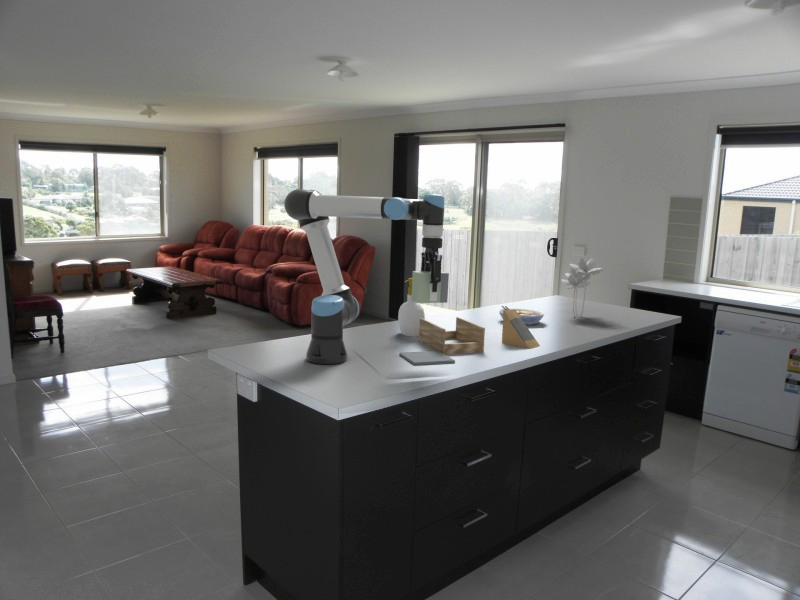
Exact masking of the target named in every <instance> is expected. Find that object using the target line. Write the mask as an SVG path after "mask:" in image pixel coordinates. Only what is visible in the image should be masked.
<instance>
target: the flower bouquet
mask: <svg viewBox="0 0 800 600" xmlns="http://www.w3.org/2000/svg"><path fill="white" fill-rule="evenodd" d="M595 262H596V260H595V258H594V257H591V258H590V259H589V260H588V261H587V262H586V260H585V258H584V257H583V256H582V257H581V258H580V259H579V261H578V262H577V263H578V265H577V264H575V263H574V264H573V263H569V266H570V267H571V268H570V272H566V273H565V274H564V275H565V276H566V277H567V279H563V278H562V279H560V280H561V282H562V283H563V284H564V285H566V286H567V287H566V289H568V290H569V289H573V298H572V299H573V301H572V314H573V318H576V316H577V315H578V311H577V295H578V289H580V288H584V291H583V293H584V294H583V301H582V308H581V313H580V315H579V317H580V318H582V316H583V313H584V307H585V301H586V287H588V286H589V285H590V283H591V281H587V280H590V278H592V276H595V275H599V274H600V273H601V272H603V271H604V268H602V267H596V268H595V266H596V263H595Z"/></svg>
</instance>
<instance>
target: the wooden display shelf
mask: <svg viewBox="0 0 800 600" xmlns="http://www.w3.org/2000/svg"><path fill="white" fill-rule="evenodd" d="M485 332H486V327H484V326H482V325H478V324H476V323H474V322H471V321H468V320H466V319H464V318H462V317H458V316H456V318H455V330H446V329H445V328H443V327H441V326H439V325H437V324H435V323H433V322H430V321H428V320H427V319H425V320H424V319H422V318H420V326H419V337H418V341H419V342H421V343H422V344H424V345H426V346H428V347H430V349H432V350H433V351H439V352H441V353H443V354H445V355H454V354H455V355H457V354H470V353H481V352H482V353H483V352H485ZM449 338H454V339H456V338H457V339H456V340H458V339H459V340H458V341H461V342H458V343H457V342H454V343H446V340H448V339H449ZM449 340H450V339H449Z"/></svg>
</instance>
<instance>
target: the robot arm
mask: <svg viewBox="0 0 800 600" xmlns="http://www.w3.org/2000/svg"><path fill="white" fill-rule="evenodd" d="M283 204H284V205H283V206H284V210H285V213H287V215H288V216H289V217H290V218H292V219H293V220H295V221H298V224H299V226H300V227H299V228H300V229H301V230H302V231H304V232H305V234H306V237H307V241H308V243H309V247H310V250H311V253H312V257H313V260H314V264H315V266H316V271H317V273H318V276H319V280H320V284H321V287H322V293H321V295H319V296H316V297H315V298H313V299H312V300H311V307H310V308H311V310H310V311H311V321H310V322H311V325H310V327H311V329H310V330H311V337H310V338H311V339H310V342H309V345H308V347H307V351H306V357H305V360H306V361H307V362H309V363H312V364H319V365H334V364H335V365H336V364H337V365H338V364H342V363H345V362H347V361H348V353H347V349H346V346H345V343H344V342H345V341H344V326H346V325H350V324H351V323H352V322H354V321H355V320H356V319H357V318H358V315H359V313H360V305H359V302H358V300H357V299H356V297H355V296H353V295H352V291H351V288H350V287H349V286H347V285H346V284H345V281H344V278H343V275H342V272H341V271H342V270H341V268H340V264H339V261H338V259H337V258H338V257H337V255H336V251H335V247H334V244H333V241H332V238H331V234H330V231H329V227H328V225H329V223H330V217H333V218H334V217H335V218H354V219H355V218H357V219H379V220H380V219H381V220H382V219H383V220H393V221H399V220H401V221H402V220H403V221H404V220H408V221H409V220H411V221H422V230H421V231H422V232H421V235H422V236H423V237H422V239H421V248H423V249H424V248H425V249H424V250H425V251H422V252H421V253H420V256H421V263H420V271H427V272H431V281H430V294H429V301H437V286H438V283H439V282H441V272H442V260H443V254H439V249H442V248H443V238H442V237H443V233H444V230H445V229H444V219H445V196H444V195H442V194H435V193H434V194H424V196H423V199H416V198H415V199H413V198H403V197H398V196H394V197H393V196H392V197H384V196H363V195H362V196H357V195H354V196H353V195H333V194H328V195H327V194H323V193H322V192H319V191H317V190H315V189H303V188H298V189H297V188H296V189H293V190H291V191H290V192H289V193H287V195H286V196H285V199H284V203H283Z"/></svg>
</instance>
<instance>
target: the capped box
mask: <svg viewBox="0 0 800 600" xmlns="http://www.w3.org/2000/svg"><path fill="white" fill-rule="evenodd" d="M449 275H450V273H449V272H445V271H441V282H439V283H438V286H437V301H429V294H430V281H431V272H427V271H421V270H419V271H418V270H417V271H415V270H412V276H411V278H412V298H411V301H414V302H416V303H419V304H435V303H437V304H439V303H442V304H443V303H445V304H446V303H448V296H449V295H448V294H449V278H450V277H449Z"/></svg>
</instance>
